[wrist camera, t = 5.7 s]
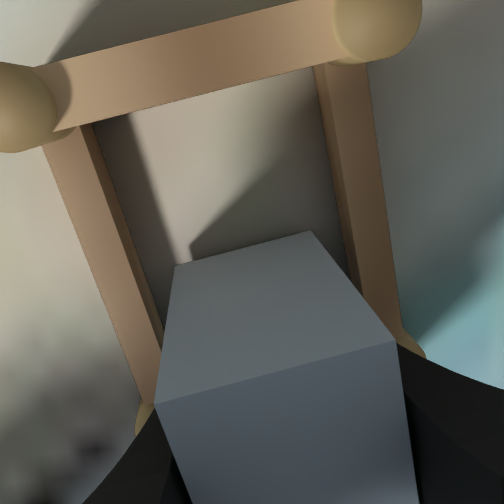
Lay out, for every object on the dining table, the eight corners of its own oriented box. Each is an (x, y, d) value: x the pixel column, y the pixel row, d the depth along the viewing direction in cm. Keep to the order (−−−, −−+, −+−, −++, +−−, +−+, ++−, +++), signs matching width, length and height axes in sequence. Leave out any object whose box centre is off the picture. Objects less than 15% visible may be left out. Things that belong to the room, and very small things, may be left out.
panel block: (235, 450, 15) (254, 661, 10) (174, 266, 13) (153, 404, 7) (348, 420, 15) (434, 611, 10) (310, 230, 13) (395, 339, 7)
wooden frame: (148, 429, 15) (133, 522, 12) (8, 82, 11) (-72, 76, 8) (412, 358, 15) (469, 431, 12) (362, -8, 11) (428, -50, 8)
